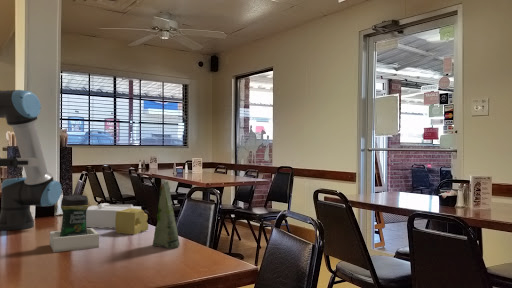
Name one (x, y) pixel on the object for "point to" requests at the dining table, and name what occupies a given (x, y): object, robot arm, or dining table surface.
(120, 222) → the cheese
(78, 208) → the coffee jar
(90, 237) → the tray
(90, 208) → the tissue box
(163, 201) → the pouch
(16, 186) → the robot arm
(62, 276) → the dining table surface
